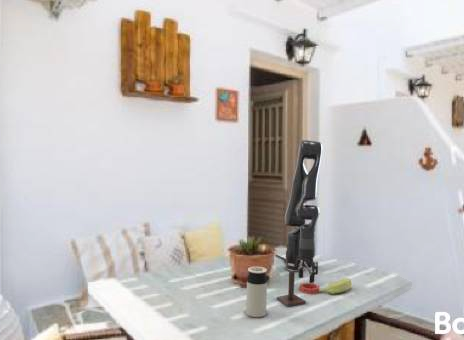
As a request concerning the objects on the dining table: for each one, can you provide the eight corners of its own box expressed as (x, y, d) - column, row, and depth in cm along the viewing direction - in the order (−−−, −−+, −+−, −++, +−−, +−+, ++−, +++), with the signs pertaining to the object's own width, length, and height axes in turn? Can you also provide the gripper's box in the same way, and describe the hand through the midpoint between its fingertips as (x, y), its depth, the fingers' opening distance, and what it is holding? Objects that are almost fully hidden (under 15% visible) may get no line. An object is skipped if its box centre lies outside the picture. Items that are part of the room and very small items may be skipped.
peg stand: (276, 299, 170) (277, 269, 169) (293, 296, 174) (294, 267, 174) (287, 307, 162) (288, 275, 161) (305, 303, 166) (306, 273, 166)
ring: (296, 288, 184) (296, 284, 184) (311, 286, 188) (311, 282, 188) (307, 294, 177) (307, 290, 177) (322, 292, 181) (323, 287, 181)
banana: (359, 276, 182) (323, 285, 175) (362, 288, 182) (326, 298, 174) (342, 274, 195) (308, 283, 187) (345, 286, 194) (311, 295, 187)
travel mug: (251, 319, 149) (252, 273, 148) (243, 311, 156) (244, 267, 156) (269, 316, 152) (270, 271, 151) (260, 308, 160) (262, 265, 159)
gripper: (322, 249, 180) (321, 283, 181) (304, 242, 193) (303, 275, 193) (310, 250, 177) (309, 285, 177) (292, 244, 189) (291, 277, 190)
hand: (306, 280), depth 185 cm, fingers open, 8 cm apart
